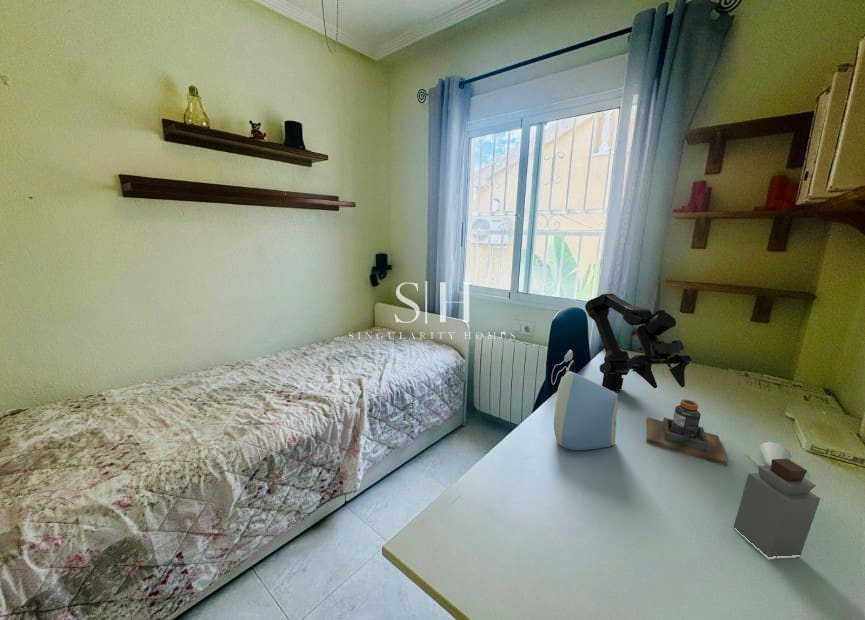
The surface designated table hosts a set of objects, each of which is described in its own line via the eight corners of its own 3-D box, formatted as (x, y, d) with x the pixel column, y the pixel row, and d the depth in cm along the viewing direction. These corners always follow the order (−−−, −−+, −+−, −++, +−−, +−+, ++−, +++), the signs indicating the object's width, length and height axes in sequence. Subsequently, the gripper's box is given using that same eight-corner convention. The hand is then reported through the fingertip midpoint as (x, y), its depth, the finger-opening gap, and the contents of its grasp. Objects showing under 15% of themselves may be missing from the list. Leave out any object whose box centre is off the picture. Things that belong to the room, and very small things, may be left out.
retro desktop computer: (571, 345, 104) (631, 359, 93) (572, 401, 114) (626, 420, 102) (533, 391, 89) (599, 414, 77) (538, 452, 98) (597, 480, 87)
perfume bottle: (733, 528, 69) (754, 453, 64) (762, 526, 69) (785, 452, 65) (767, 559, 62) (793, 478, 58) (799, 557, 63) (827, 477, 58)
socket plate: (646, 442, 96) (648, 431, 96) (646, 420, 108) (648, 410, 107) (726, 466, 87) (729, 453, 86) (717, 439, 99) (719, 428, 98)
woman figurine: (808, 449, 88) (811, 488, 76) (804, 463, 89) (805, 503, 77) (749, 430, 96) (743, 462, 84) (745, 443, 97) (739, 476, 85)
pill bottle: (693, 435, 98) (701, 401, 96) (696, 445, 94) (704, 409, 91) (669, 428, 101) (676, 395, 99) (670, 438, 97) (678, 403, 94)
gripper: (638, 331, 102) (659, 379, 94) (693, 330, 104) (718, 377, 96) (618, 346, 112) (635, 391, 104) (669, 345, 114) (689, 389, 106)
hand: (669, 387), depth 102 cm, fingers open, 9 cm apart
